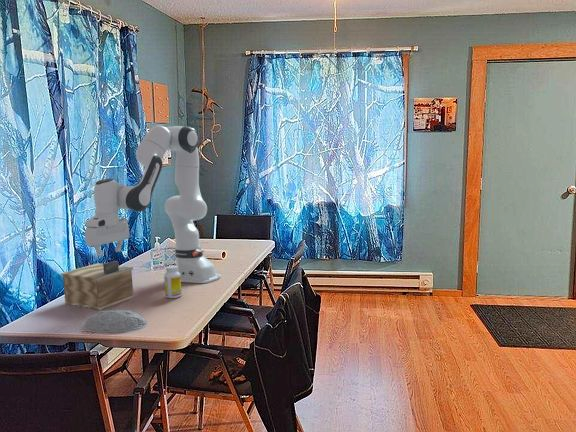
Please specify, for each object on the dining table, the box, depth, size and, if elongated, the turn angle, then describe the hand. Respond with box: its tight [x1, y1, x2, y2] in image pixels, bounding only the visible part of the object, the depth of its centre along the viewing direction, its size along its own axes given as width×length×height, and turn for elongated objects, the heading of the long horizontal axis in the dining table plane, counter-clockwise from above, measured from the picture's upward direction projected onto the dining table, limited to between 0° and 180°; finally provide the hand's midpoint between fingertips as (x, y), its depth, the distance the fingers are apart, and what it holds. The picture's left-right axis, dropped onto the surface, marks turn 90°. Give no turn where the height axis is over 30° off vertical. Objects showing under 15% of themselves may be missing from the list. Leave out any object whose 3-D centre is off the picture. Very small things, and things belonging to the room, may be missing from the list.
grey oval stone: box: [83, 309, 148, 334], centre depth 192 cm, size 16×25×7 cm, turn 80°
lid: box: [60, 260, 134, 280], centre depth 220 cm, size 21×19×5 cm
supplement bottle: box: [163, 265, 183, 299], centre depth 224 cm, size 7×7×13 cm
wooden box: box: [62, 270, 134, 311], centre depth 221 cm, size 20×18×12 cm
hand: (109, 253), depth 215 cm, fingers open, 8 cm apart
